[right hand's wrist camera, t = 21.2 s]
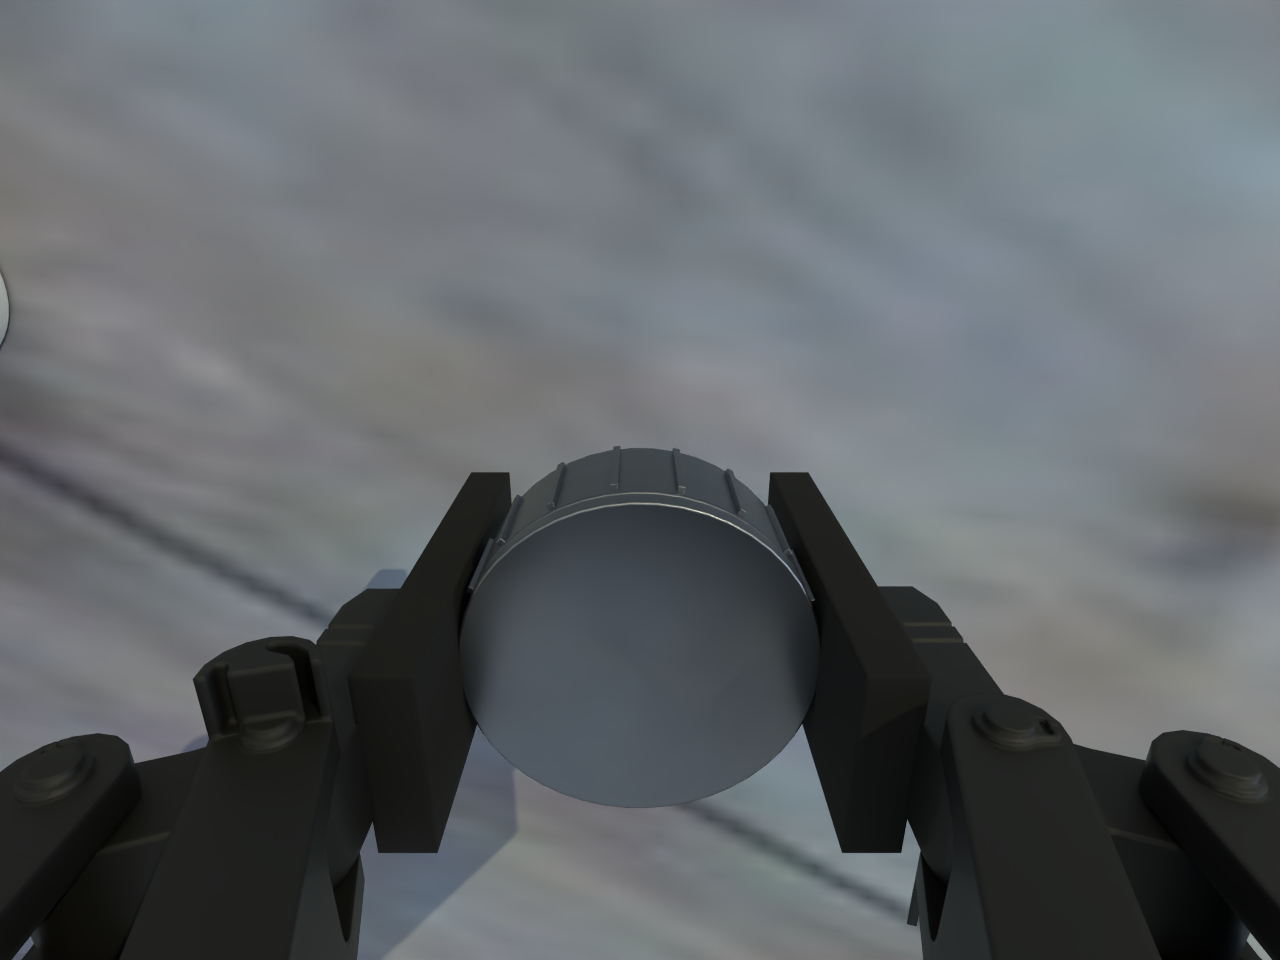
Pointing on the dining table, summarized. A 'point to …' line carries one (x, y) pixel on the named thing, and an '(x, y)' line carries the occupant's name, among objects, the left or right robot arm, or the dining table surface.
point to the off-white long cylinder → (3, 309)
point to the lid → (639, 631)
